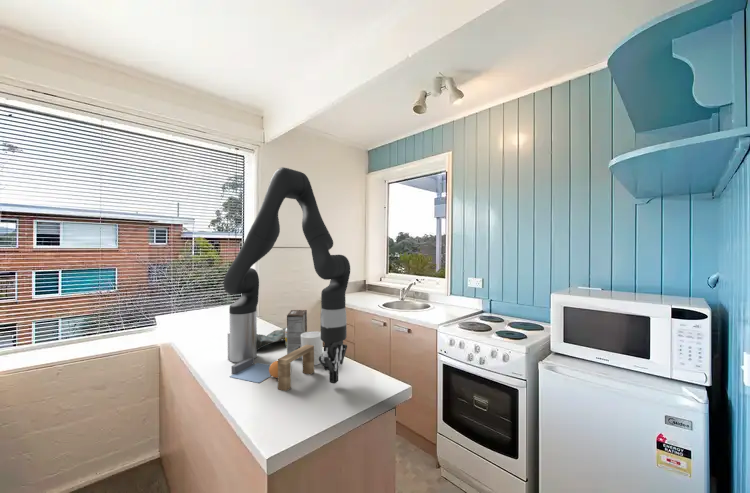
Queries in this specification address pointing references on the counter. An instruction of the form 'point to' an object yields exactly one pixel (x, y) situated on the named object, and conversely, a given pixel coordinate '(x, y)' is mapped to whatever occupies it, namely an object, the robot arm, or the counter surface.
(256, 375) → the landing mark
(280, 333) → the grey green crumpled pouch
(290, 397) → the counter surface
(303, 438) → the counter surface
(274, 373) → the ball
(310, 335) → the white cup
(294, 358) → the bridge
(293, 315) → the coffee box
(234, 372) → the strip
